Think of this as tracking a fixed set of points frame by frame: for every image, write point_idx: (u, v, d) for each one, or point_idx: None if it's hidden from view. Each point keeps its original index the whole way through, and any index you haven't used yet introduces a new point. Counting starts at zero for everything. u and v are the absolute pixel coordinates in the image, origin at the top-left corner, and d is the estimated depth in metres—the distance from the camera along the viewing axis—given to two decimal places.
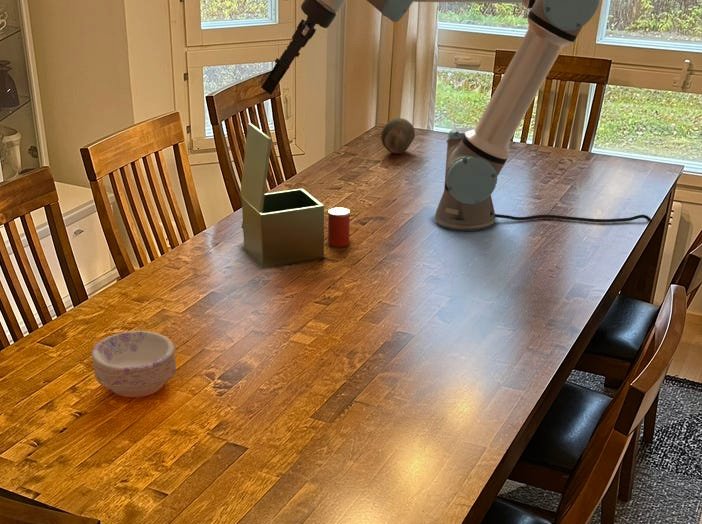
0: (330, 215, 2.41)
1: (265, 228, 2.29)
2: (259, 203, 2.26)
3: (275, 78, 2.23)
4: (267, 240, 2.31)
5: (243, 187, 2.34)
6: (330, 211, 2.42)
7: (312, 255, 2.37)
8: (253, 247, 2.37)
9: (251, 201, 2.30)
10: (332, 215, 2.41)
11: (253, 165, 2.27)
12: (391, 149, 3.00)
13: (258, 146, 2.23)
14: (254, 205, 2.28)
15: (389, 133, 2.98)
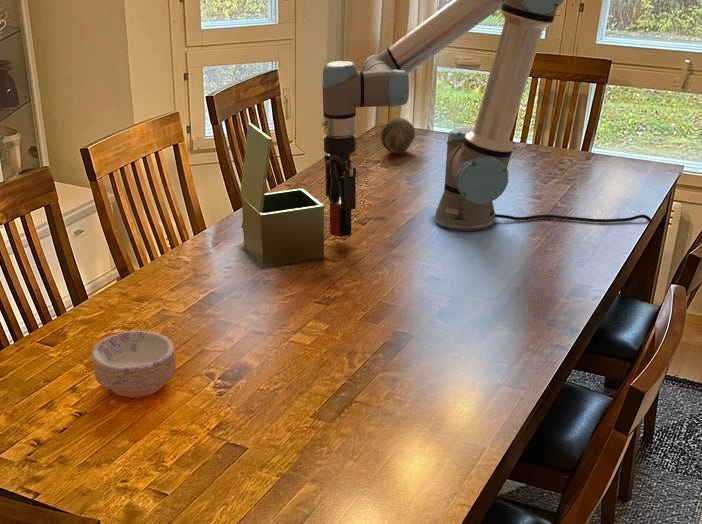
0: (331, 204, 2.40)
1: (265, 228, 2.29)
2: (259, 203, 2.26)
3: (348, 221, 2.40)
4: (267, 240, 2.31)
5: (243, 187, 2.34)
6: (331, 200, 2.41)
7: (312, 255, 2.37)
8: (253, 247, 2.37)
9: (251, 201, 2.30)
10: (333, 204, 2.39)
11: (253, 165, 2.27)
12: (391, 149, 3.00)
13: (258, 146, 2.23)
14: (254, 205, 2.28)
15: (389, 133, 2.98)
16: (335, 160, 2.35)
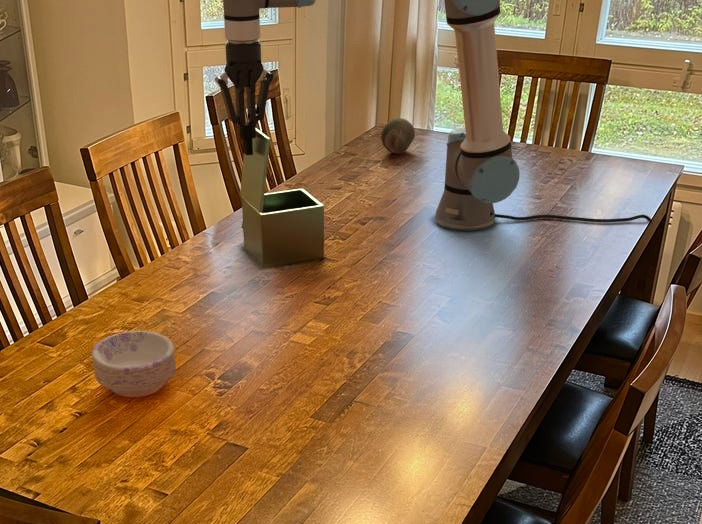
0: None
1: (265, 228, 2.29)
2: (259, 203, 2.26)
3: (239, 137, 2.22)
4: (267, 240, 2.31)
5: (243, 187, 2.34)
6: None
7: (312, 255, 2.37)
8: (253, 247, 2.37)
9: (251, 201, 2.30)
10: None
11: (252, 165, 2.27)
12: (391, 149, 3.00)
13: (257, 146, 2.23)
14: (254, 205, 2.28)
15: (389, 133, 2.98)
16: None
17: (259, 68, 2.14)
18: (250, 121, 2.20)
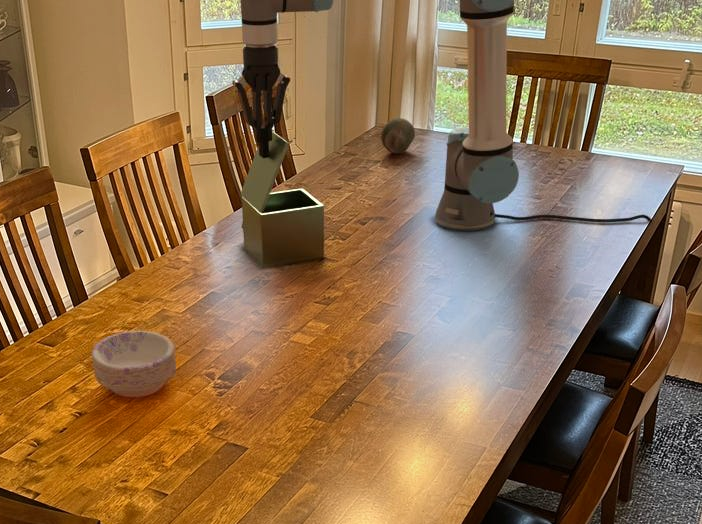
0: None
1: (265, 228, 2.29)
2: (261, 203, 2.26)
3: (256, 140, 2.24)
4: (267, 240, 2.31)
5: (245, 187, 2.34)
6: None
7: (312, 255, 2.37)
8: (253, 247, 2.37)
9: (252, 200, 2.30)
10: None
11: (262, 166, 2.28)
12: (391, 149, 3.00)
13: (273, 148, 2.25)
14: (255, 204, 2.28)
15: (389, 133, 2.98)
16: None
17: (276, 72, 2.16)
18: (267, 124, 2.22)
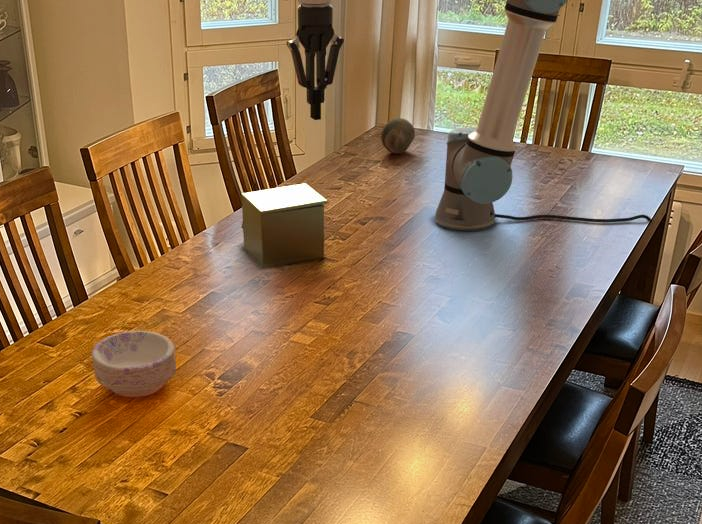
0: None
1: (265, 228, 2.29)
2: (268, 209, 2.27)
3: (308, 101, 2.24)
4: (267, 240, 2.31)
5: (253, 194, 2.36)
6: None
7: (312, 255, 2.37)
8: (253, 247, 2.37)
9: (256, 203, 2.31)
10: None
11: (285, 196, 2.34)
12: (391, 149, 3.00)
13: (306, 195, 2.34)
14: (259, 206, 2.29)
15: (389, 133, 2.98)
16: None
17: (330, 32, 2.17)
18: (319, 85, 2.23)
